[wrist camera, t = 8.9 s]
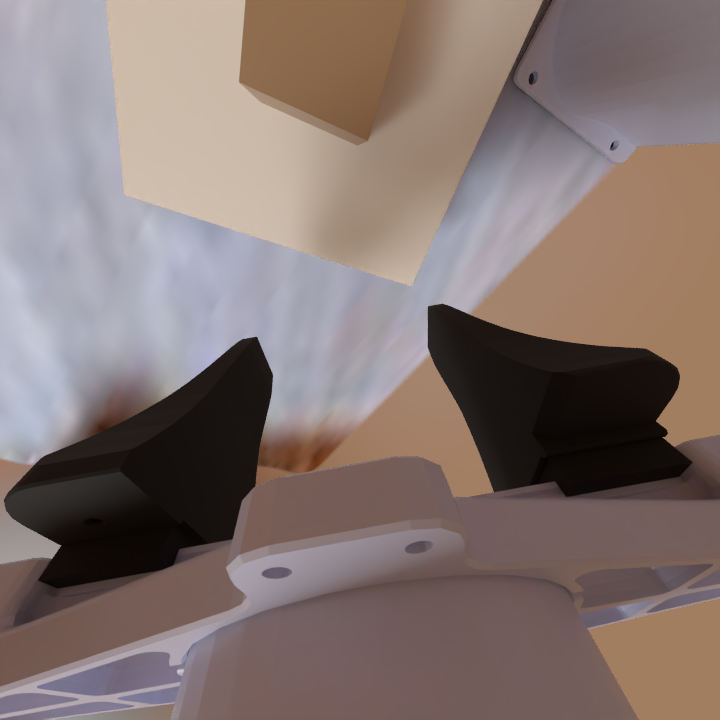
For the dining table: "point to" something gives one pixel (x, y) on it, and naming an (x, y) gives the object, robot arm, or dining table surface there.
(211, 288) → the dining table surface
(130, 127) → the lid
